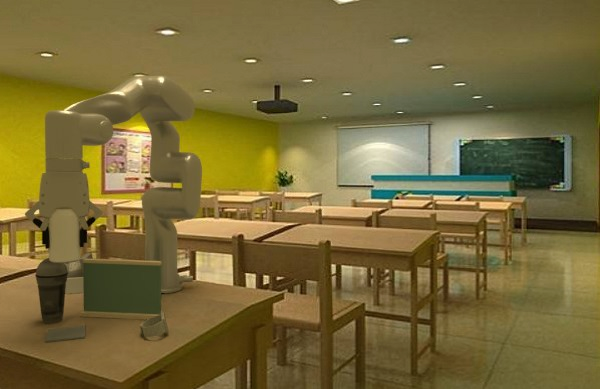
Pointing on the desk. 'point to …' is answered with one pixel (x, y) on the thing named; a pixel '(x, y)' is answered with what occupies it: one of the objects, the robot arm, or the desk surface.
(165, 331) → the wristwatch
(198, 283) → the desk surface
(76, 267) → the voltmeter
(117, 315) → the chalkboard panel
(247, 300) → the desk surface
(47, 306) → the beverage cup
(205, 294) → the desk surface
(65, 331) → the grey mat
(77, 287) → the tool caddy
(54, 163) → the robot arm
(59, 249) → the can
